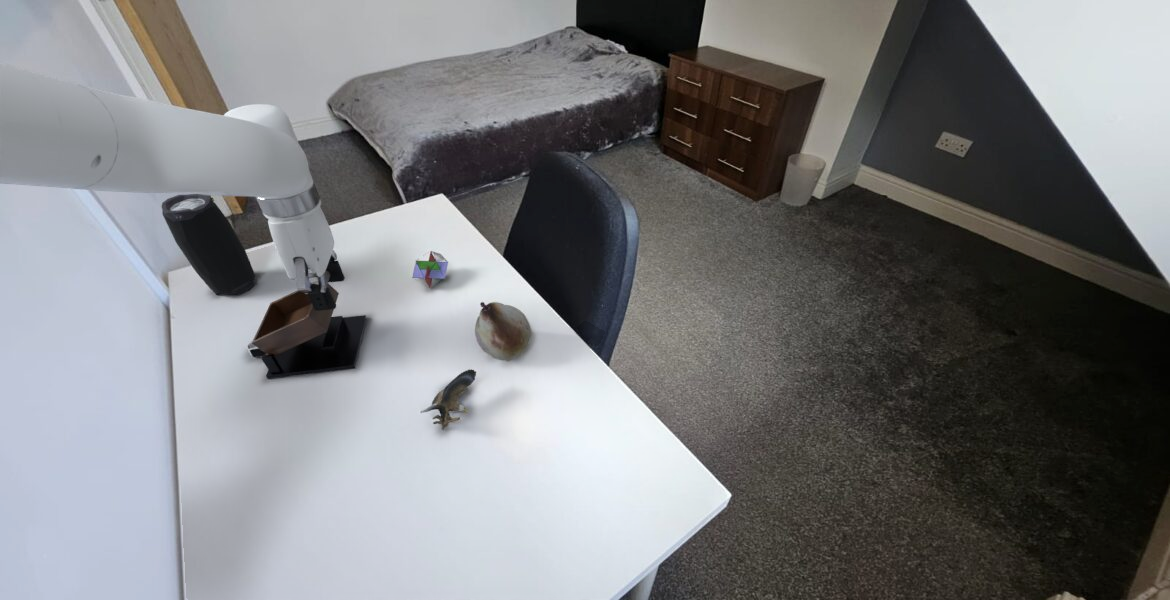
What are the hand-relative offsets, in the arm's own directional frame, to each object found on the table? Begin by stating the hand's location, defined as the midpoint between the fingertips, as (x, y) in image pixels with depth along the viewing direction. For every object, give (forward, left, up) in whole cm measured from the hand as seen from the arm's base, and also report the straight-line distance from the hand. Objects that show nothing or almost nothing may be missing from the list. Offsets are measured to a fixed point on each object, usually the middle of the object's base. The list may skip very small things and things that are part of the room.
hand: (330, 293), depth 78 cm
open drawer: (-4, 0, -6) cm, 7 cm away
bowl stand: (-5, 0, -12) cm, 13 cm away
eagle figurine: (+19, -18, -12) cm, 29 cm away
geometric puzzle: (+14, +16, -12) cm, 24 cm away
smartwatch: (-17, 0, -11) cm, 20 cm away
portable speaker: (-26, +21, -12) cm, 36 cm away
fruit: (+28, -6, -12) cm, 31 cm away
